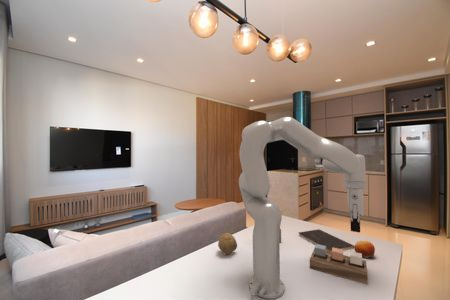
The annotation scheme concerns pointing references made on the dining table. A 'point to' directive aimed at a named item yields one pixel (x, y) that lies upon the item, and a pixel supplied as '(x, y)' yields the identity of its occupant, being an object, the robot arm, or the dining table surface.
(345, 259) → the wooden key base
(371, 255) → the fruit
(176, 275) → the dining table surface
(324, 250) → the slate key
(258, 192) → the robot arm
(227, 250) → the natural sponge
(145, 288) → the dining table surface
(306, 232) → the hardcover book
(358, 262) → the cream key
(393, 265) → the dining table surface
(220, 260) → the dining table surface
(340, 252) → the terracotta key
